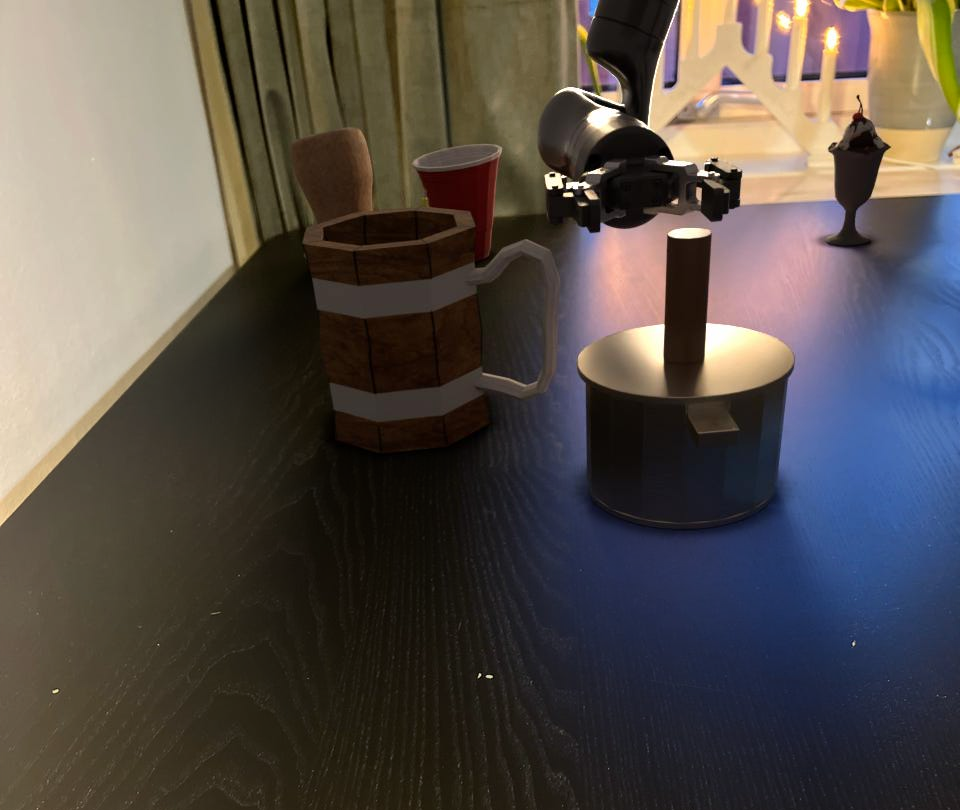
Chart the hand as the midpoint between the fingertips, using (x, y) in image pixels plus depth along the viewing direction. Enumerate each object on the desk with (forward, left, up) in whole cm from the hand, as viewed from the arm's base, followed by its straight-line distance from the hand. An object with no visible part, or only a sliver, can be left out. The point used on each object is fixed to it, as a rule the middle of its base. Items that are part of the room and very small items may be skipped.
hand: (657, 211), depth 68 cm
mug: (+16, -4, -16) cm, 23 cm away
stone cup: (+28, -61, -16) cm, 69 cm away
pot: (0, +11, -15) cm, 19 cm away
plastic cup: (+13, -56, -16) cm, 60 cm away
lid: (0, +11, -7) cm, 13 cm away
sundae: (-32, -48, -16) cm, 60 cm away
